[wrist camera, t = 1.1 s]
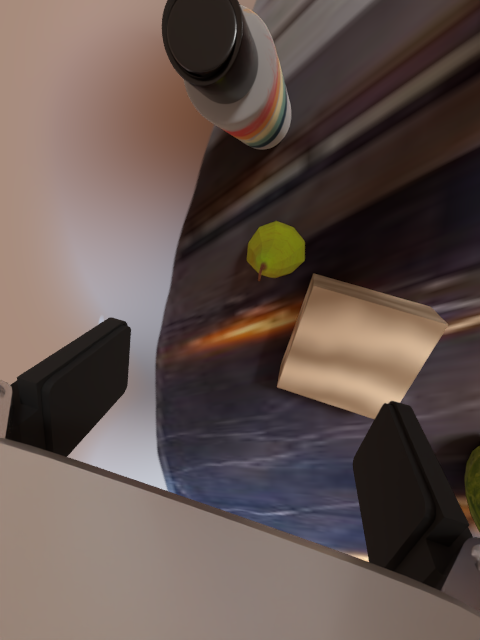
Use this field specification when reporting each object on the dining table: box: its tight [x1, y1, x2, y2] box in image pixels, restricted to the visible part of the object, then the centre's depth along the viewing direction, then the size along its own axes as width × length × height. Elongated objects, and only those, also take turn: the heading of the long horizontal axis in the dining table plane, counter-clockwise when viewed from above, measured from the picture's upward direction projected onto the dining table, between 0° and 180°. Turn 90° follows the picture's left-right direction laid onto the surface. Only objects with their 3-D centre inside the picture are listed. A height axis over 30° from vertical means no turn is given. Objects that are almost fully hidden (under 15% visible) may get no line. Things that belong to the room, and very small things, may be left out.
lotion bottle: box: [162, 0, 291, 150], centre depth 22 cm, size 6×6×20 cm
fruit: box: [247, 221, 305, 281], centre depth 30 cm, size 6×6×12 cm
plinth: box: [277, 273, 448, 419], centre depth 36 cm, size 14×14×5 cm
